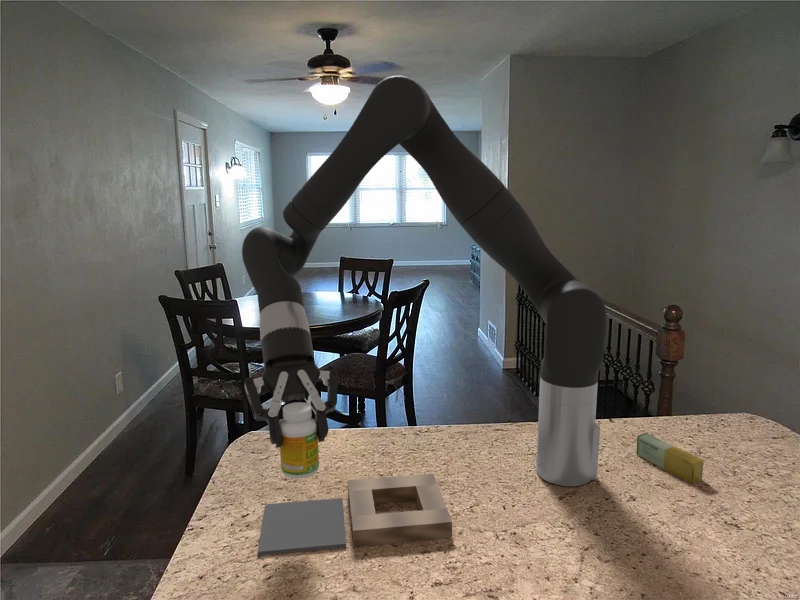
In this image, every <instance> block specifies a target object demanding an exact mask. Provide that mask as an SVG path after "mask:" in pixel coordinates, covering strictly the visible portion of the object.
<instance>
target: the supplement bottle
mask: <svg viewBox="0 0 800 600" xmlns="http://www.w3.org/2000/svg"><path fill="white" fill-rule="evenodd" d="M312 411H313V410H312V408H311V405H309V404H308V403H307V402H302V401H298V402H297V401H296V402H291V403H288V404H286V405H284V406H283V407H282V418H283V420H282V421H281V422H279V424H280V432H281V440H282V445H281V447H279V452H280V453H279V454H280V469H281V473H282V475H283V476H285V477H287V478H291V479H305V478H309V477H311V476H313V475H314V474H316V473H317V472H318V471H319V468H320V465H319V464H320V461H319V459H320V458H319V456H320V455H319V441H318V432H317V423H316V421H315V418H313V417H312Z"/></svg>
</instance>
